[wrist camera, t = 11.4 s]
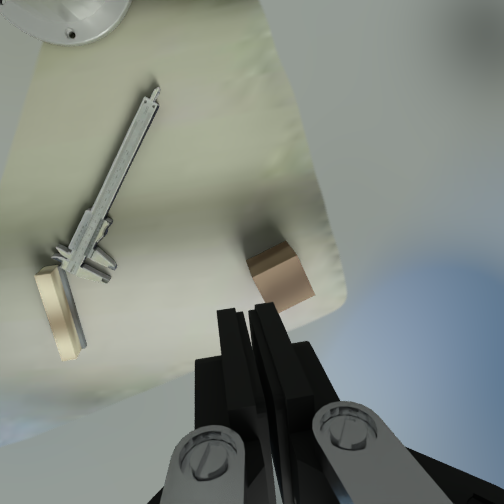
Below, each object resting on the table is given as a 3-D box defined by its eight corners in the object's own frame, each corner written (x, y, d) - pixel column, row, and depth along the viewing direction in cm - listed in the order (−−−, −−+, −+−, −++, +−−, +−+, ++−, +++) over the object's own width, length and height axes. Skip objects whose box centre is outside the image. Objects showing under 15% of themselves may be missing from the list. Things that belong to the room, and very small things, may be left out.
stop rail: (44, 266, 38) (34, 275, 36) (63, 264, 38) (54, 273, 36) (69, 347, 42) (62, 361, 39) (86, 345, 42) (80, 358, 39)
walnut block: (245, 260, 41) (252, 277, 37) (285, 240, 41) (297, 255, 36) (264, 295, 43) (272, 316, 38) (302, 276, 43) (315, 295, 38)
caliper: (111, 285, 39) (47, 270, 37) (113, 281, 40) (51, 266, 38) (163, 88, 33) (91, 61, 32) (163, 89, 34) (94, 63, 33)
